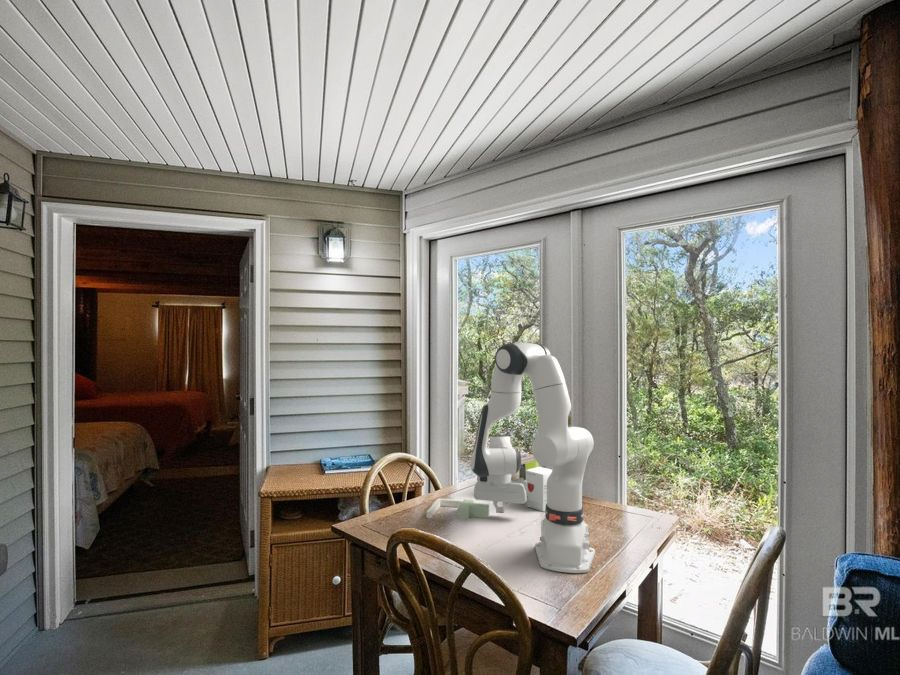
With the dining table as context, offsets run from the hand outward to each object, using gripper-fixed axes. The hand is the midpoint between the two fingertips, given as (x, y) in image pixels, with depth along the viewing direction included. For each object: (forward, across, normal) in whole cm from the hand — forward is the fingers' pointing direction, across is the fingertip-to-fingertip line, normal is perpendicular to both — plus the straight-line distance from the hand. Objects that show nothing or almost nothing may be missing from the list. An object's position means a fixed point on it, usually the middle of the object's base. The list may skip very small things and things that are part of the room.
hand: (500, 512), depth 179 cm
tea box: (+2, -4, -39) cm, 40 cm away
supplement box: (+2, -14, -16) cm, 22 cm away
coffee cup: (+2, 0, -26) cm, 26 cm away
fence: (+2, +22, 0) cm, 22 cm away
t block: (+2, +10, 0) cm, 10 cm away
